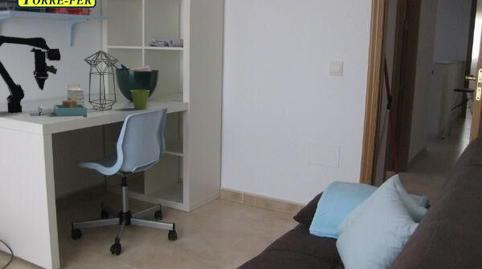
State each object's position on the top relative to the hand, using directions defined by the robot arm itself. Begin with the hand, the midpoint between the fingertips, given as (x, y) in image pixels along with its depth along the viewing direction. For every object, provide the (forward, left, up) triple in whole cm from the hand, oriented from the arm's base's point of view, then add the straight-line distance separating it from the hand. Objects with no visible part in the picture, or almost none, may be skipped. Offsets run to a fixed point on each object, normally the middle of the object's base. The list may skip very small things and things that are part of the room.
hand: (41, 89), depth 263 cm
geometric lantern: (+34, +7, -13) cm, 37 cm away
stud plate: (-2, -13, -13) cm, 18 cm away
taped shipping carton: (+13, -13, -12) cm, 22 cm away
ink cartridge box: (+20, +12, -13) cm, 27 cm away
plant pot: (+57, +6, -13) cm, 59 cm away
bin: (+13, -13, -13) cm, 22 cm away
